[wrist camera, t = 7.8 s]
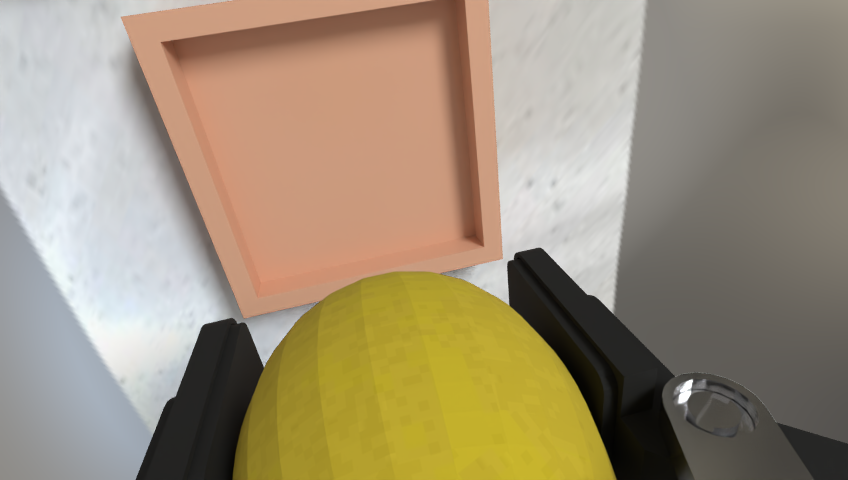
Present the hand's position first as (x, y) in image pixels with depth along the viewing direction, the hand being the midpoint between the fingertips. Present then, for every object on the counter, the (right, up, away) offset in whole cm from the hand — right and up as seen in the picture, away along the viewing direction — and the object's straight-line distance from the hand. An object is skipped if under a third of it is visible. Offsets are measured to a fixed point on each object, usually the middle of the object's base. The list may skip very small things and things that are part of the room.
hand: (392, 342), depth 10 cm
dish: (-3, +7, +13) cm, 15 cm away
